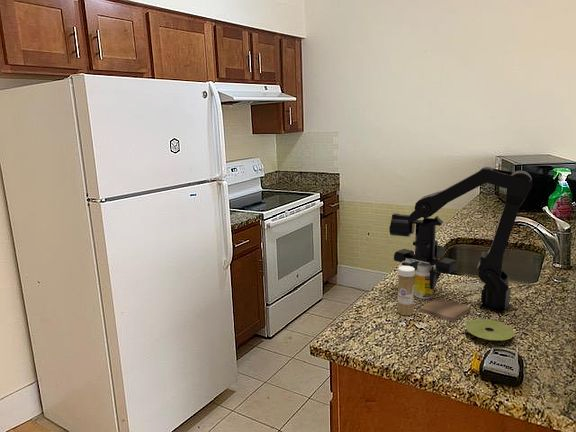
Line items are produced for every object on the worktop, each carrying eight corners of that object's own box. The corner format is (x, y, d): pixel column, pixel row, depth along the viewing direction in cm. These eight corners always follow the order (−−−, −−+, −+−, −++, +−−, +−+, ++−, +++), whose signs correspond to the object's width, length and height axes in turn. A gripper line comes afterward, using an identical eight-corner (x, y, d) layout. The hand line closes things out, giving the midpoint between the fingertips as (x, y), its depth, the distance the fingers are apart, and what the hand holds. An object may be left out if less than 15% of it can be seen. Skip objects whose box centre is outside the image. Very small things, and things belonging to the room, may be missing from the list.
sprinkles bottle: (396, 314, 121) (397, 269, 119) (398, 308, 126) (399, 264, 123) (412, 317, 120) (414, 271, 117) (414, 310, 124) (415, 265, 121)
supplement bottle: (424, 301, 130) (425, 269, 128) (410, 295, 134) (411, 264, 132) (436, 296, 133) (437, 265, 130) (422, 291, 137) (423, 260, 135)
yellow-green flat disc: (498, 352, 100) (499, 344, 100) (455, 334, 109) (456, 327, 109) (522, 337, 107) (523, 330, 106) (480, 321, 116) (480, 314, 115)
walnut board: (470, 310, 122) (470, 307, 122) (453, 321, 116) (453, 318, 116) (438, 300, 130) (438, 297, 130) (420, 310, 123) (420, 307, 123)
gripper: (468, 238, 128) (465, 287, 131) (412, 228, 142) (411, 273, 145) (449, 246, 121) (446, 298, 124) (393, 235, 134) (392, 282, 138)
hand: (423, 286), depth 133 cm, fingers closed on supplement bottle, 5 cm apart
